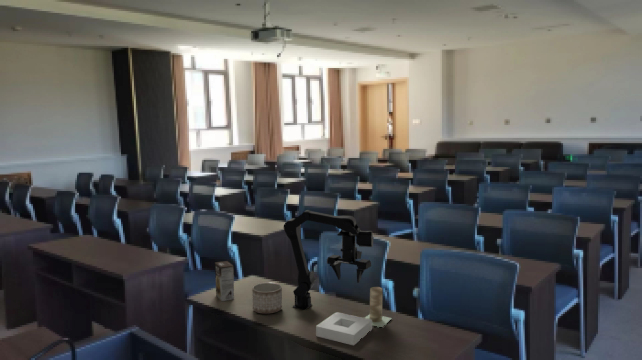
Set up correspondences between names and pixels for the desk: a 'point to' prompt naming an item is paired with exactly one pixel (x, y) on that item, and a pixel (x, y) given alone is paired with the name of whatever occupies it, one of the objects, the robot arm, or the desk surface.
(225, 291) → the coffee box
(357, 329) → the pocket block
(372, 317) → the wooden peg
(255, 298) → the planter
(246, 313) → the desk surface
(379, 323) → the green pad
